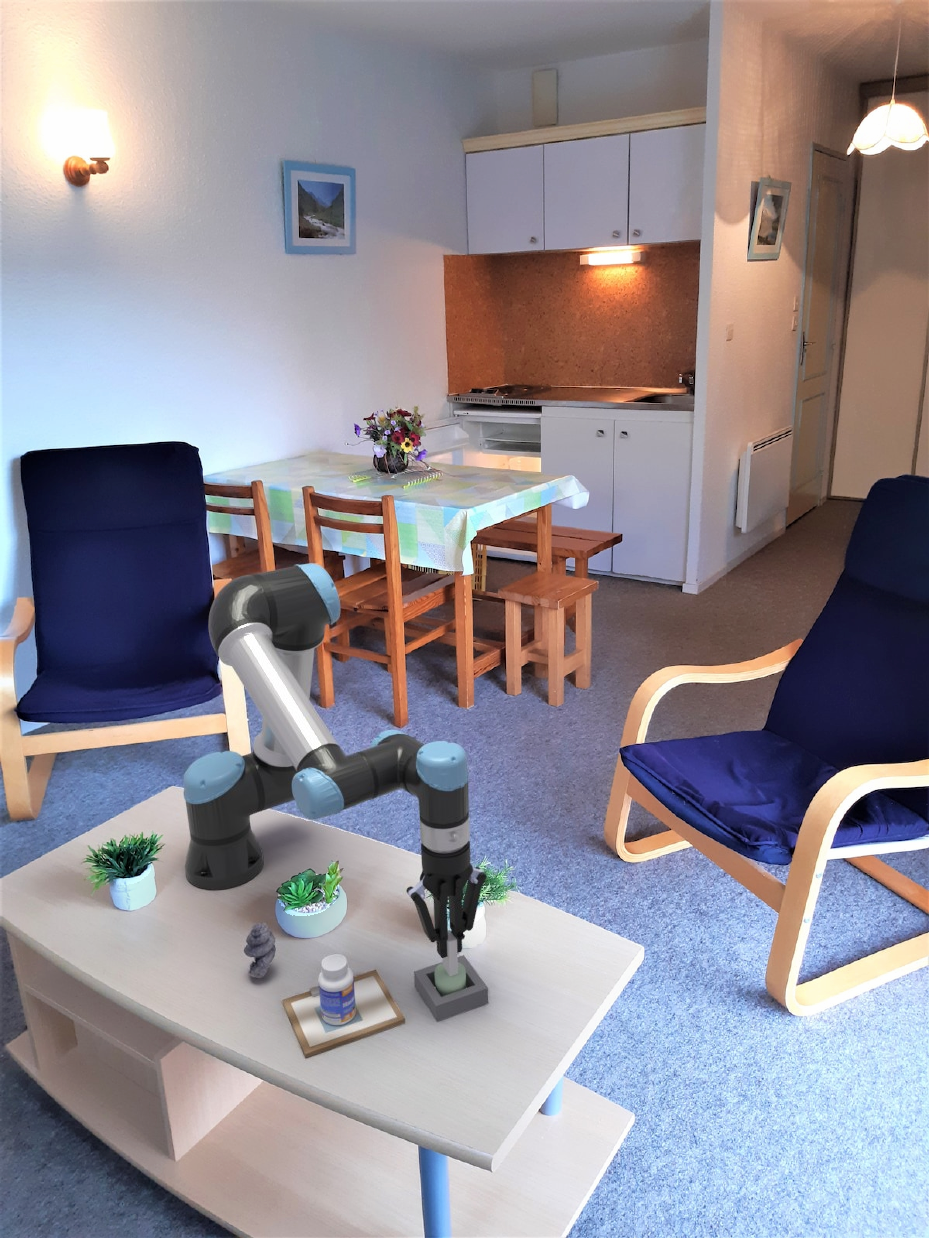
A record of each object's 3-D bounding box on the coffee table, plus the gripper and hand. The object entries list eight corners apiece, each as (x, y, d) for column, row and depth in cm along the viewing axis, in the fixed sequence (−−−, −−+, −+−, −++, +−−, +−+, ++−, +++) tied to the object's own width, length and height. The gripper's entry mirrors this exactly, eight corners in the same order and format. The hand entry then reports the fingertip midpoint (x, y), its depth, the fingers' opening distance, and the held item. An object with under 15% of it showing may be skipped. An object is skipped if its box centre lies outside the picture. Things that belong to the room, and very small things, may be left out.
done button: (430, 987, 155) (429, 966, 153) (458, 977, 157) (457, 957, 155) (443, 1006, 150) (442, 985, 149) (471, 996, 152) (470, 975, 151)
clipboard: (282, 1003, 153) (281, 995, 152) (376, 973, 159) (375, 965, 159) (305, 1058, 142) (304, 1049, 141) (405, 1022, 148) (404, 1014, 147)
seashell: (245, 968, 161) (239, 918, 158) (277, 960, 163) (271, 911, 160) (249, 988, 156) (243, 937, 153) (281, 980, 158) (276, 929, 155)
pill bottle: (350, 1028, 146) (346, 975, 143) (316, 1024, 147) (311, 972, 144) (360, 1003, 151) (356, 952, 148) (327, 1000, 152) (323, 949, 149)
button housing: (414, 986, 156) (413, 971, 155) (464, 969, 159) (463, 954, 158) (436, 1021, 148) (436, 1005, 147) (488, 1003, 152) (488, 987, 151)
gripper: (415, 864, 139) (422, 997, 146) (494, 842, 144) (497, 971, 151) (396, 840, 145) (403, 968, 153) (473, 819, 151) (476, 944, 158)
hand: (450, 969), depth 152 cm, fingers closed
